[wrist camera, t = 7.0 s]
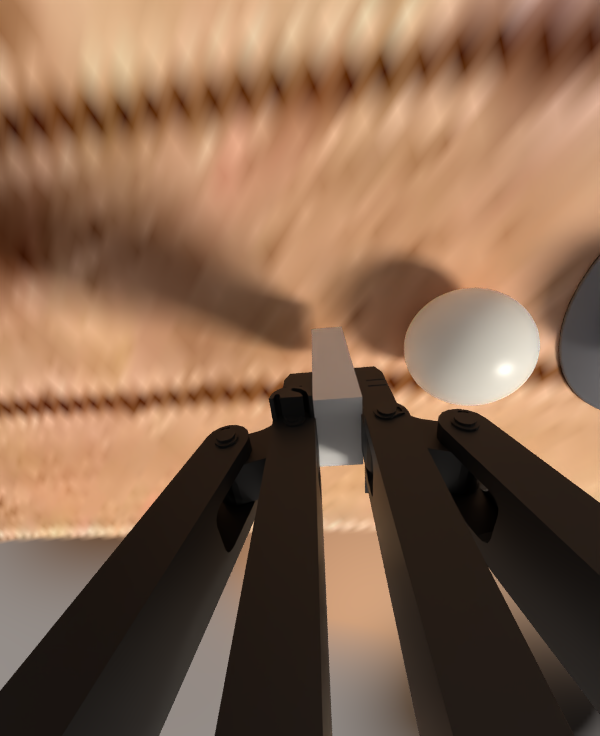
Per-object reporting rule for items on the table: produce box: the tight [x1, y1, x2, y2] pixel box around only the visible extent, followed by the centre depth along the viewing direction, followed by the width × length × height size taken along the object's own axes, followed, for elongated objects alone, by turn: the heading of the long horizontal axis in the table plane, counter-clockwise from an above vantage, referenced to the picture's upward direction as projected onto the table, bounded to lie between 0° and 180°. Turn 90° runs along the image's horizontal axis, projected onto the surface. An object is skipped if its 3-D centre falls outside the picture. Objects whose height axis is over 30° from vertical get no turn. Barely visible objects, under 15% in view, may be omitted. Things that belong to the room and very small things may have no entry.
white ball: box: [404, 288, 540, 406], centre depth 14 cm, size 6×6×6 cm
